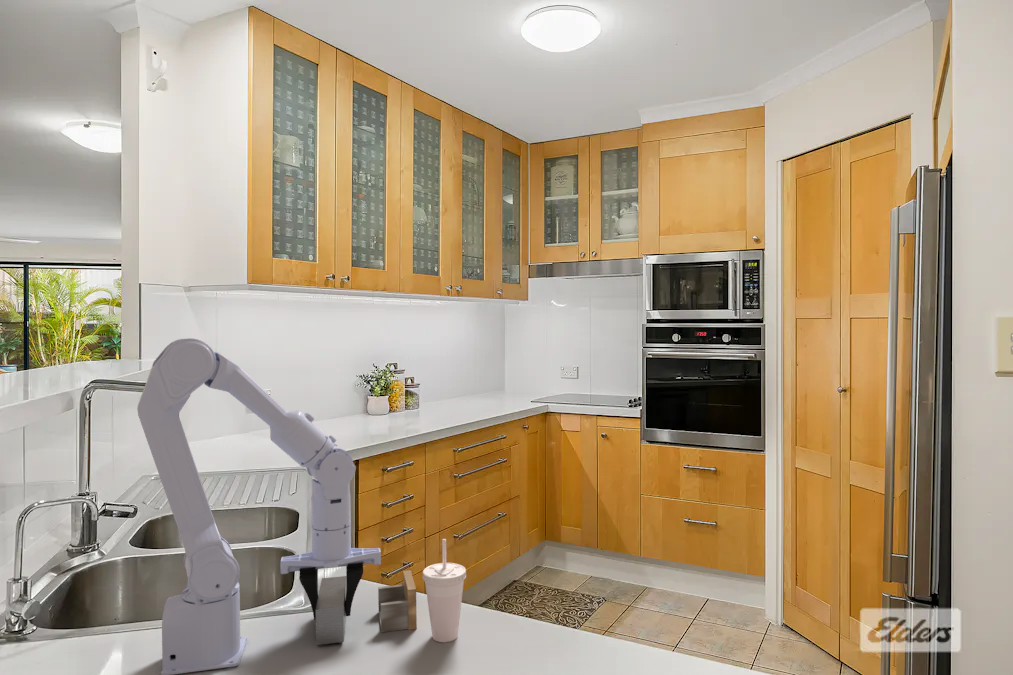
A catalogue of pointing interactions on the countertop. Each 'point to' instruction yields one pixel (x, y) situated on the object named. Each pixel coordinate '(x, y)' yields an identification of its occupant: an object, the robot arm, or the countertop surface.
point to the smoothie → (444, 597)
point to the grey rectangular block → (331, 610)
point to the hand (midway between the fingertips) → (332, 615)
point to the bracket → (398, 605)
